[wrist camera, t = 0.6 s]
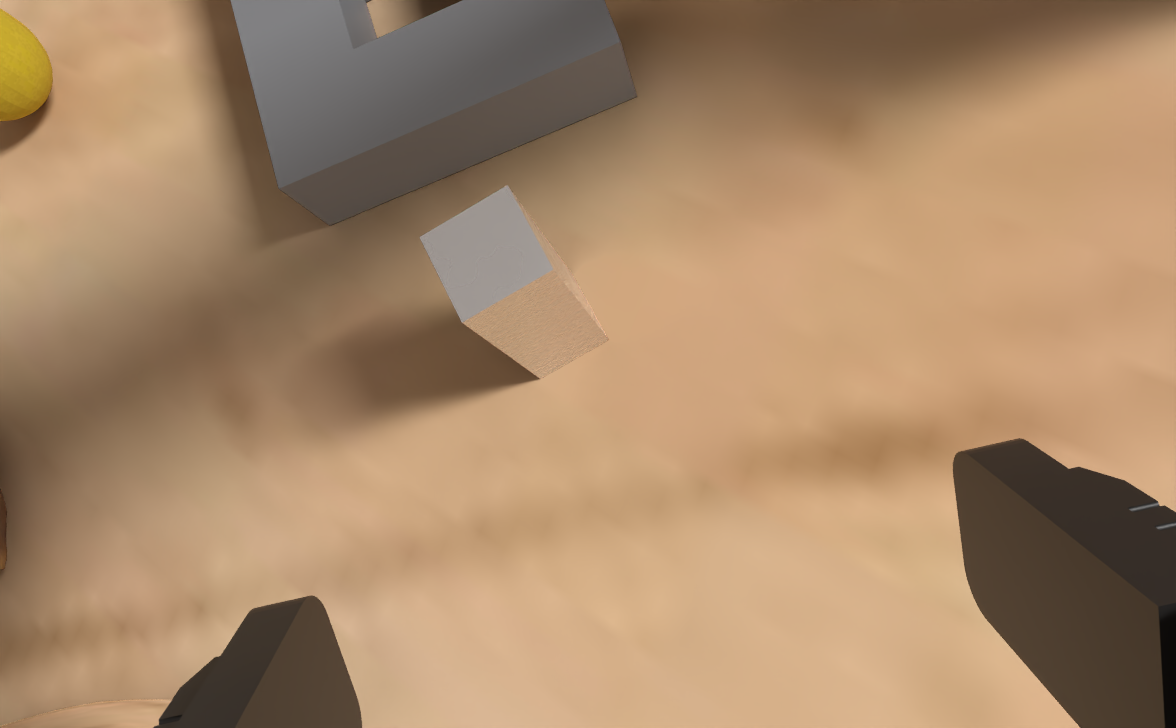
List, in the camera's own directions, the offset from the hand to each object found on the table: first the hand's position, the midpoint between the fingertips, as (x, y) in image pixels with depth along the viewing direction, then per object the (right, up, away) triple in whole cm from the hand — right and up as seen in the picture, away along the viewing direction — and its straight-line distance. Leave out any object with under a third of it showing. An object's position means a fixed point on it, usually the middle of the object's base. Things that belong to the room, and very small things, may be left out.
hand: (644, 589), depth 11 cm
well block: (-8, +20, +32) cm, 38 cm away
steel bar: (-2, +4, +27) cm, 28 cm away
